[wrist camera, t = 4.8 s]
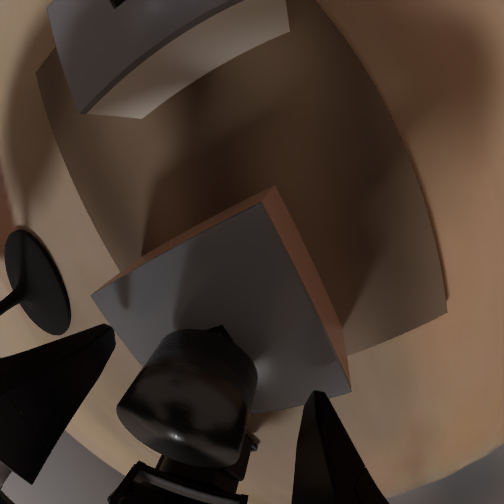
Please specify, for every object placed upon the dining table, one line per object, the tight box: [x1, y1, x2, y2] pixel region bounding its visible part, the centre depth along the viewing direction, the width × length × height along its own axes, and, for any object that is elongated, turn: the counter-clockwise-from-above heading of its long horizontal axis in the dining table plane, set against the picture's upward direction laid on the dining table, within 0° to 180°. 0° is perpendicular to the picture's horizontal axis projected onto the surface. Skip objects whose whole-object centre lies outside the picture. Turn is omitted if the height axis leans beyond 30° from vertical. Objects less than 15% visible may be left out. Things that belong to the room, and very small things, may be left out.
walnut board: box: [36, 0, 447, 355], centre depth 11 cm, size 16×26×1 cm, turn 28°
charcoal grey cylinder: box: [116, 325, 258, 468], centre depth 9 cm, size 4×4×8 cm
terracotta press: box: [91, 185, 352, 415], centre depth 11 cm, size 8×8×4 cm
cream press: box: [47, 0, 290, 119], centre depth 7 cm, size 8×8×4 cm
